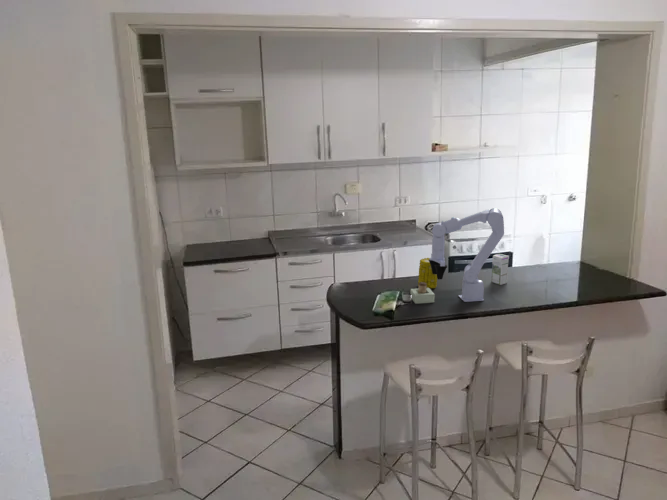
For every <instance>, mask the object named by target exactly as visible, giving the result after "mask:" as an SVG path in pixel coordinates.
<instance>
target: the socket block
mask: <svg viewBox="0 0 667 500" xmlns="http://www.w3.org/2000/svg"><path fill="white" fill-rule="evenodd" d="M418 290H419V287H418V288H417V287H415V288H410V294H411V295H412V298H411V300H412V301H413V302H414V304H417V305H418V304H430V303H431V304H432V303H435V297H436V296H435V295H436V294H435V293H434V292H433V290H432V289H431V288H426V293H422V294H418ZM410 294H409V295H410Z"/></svg>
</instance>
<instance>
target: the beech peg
mask: <svg viewBox="0 0 667 500" xmlns="http://www.w3.org/2000/svg"><path fill="white" fill-rule="evenodd" d="M426 284H427V283H425V282H420V283H419V286H418V288H419V290H418V294H422V293H426Z"/></svg>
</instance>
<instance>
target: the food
mask: <svg viewBox="0 0 667 500" xmlns="http://www.w3.org/2000/svg"><path fill="white" fill-rule="evenodd" d="M429 258H430V257H424V258H421V259H420V260H419V268H418V280H417V283H418V284H417V286H418V287H419V283H420V282H425V283H427V284H426V288H430V290H433V289H436V288H437V286H438V279H437V274H432V269H431V265H430V262H429Z"/></svg>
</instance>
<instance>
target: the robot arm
mask: <svg viewBox="0 0 667 500" xmlns="http://www.w3.org/2000/svg"><path fill="white" fill-rule="evenodd" d="M504 221H505V220H504V215H503V214H502V211H501V210H500V209H498V208H496V207H494V208H493V207H492V208H491V209H485V210H482V211H479V212H477V213H474V214H473V213H472V214H471V215H468V216H465V217H462V218H459V217H454V216H453V217H451V218H450V219H448V220H445V221H444V220H441V221H440V222H436V223H435V224H433V227H432V229H431V232H432V239H431V241H432V243H431V253H430V257H428V258H429V262H430V265H431V269H432V274H437V280H443V277H444V274H445V271H446V270H447V268H448V264H446V261H445V251H446V249H445V247H446V246H445V244H446V239H445V234H451V233H453V232H457V231H460V230H461V229H462V227H464V226H468V225H471V224H475V223H478V222H480V223H484V224H488V225H489V226H490V227H491V228H490V229H491V231H492V232H491V234H489V236H488V238H487V240H486V241H485V242H484V244H483V245H482V247H481V248H480V250H479V252H477V254H476V255H475V257H474V259H473V260H471V262H470V263H468V264H467V265H466V266H465V267H464V269H463V271H464V273H463V278H462V279H461V280H462V284H461V294H458V297H459V298H460V299H461V300H462V301H463V302H464V303H466V302H467V303H469V302H484V292H485V289H484V288H485V285H484V284H485V283H484V282H483V280H481V279H479V278H478V277H479V276H478V275H479V273H480V272H481V270H482V268H483V266H484V264H485V262H486V261H487V260H488V258H489V256H491V254H492V252H493V251H494V249H496V247H497V245H498V244H499V243H500V241H501V240H502V238H503V237H504V235H505V222H504ZM487 222H488V223H487Z"/></svg>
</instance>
